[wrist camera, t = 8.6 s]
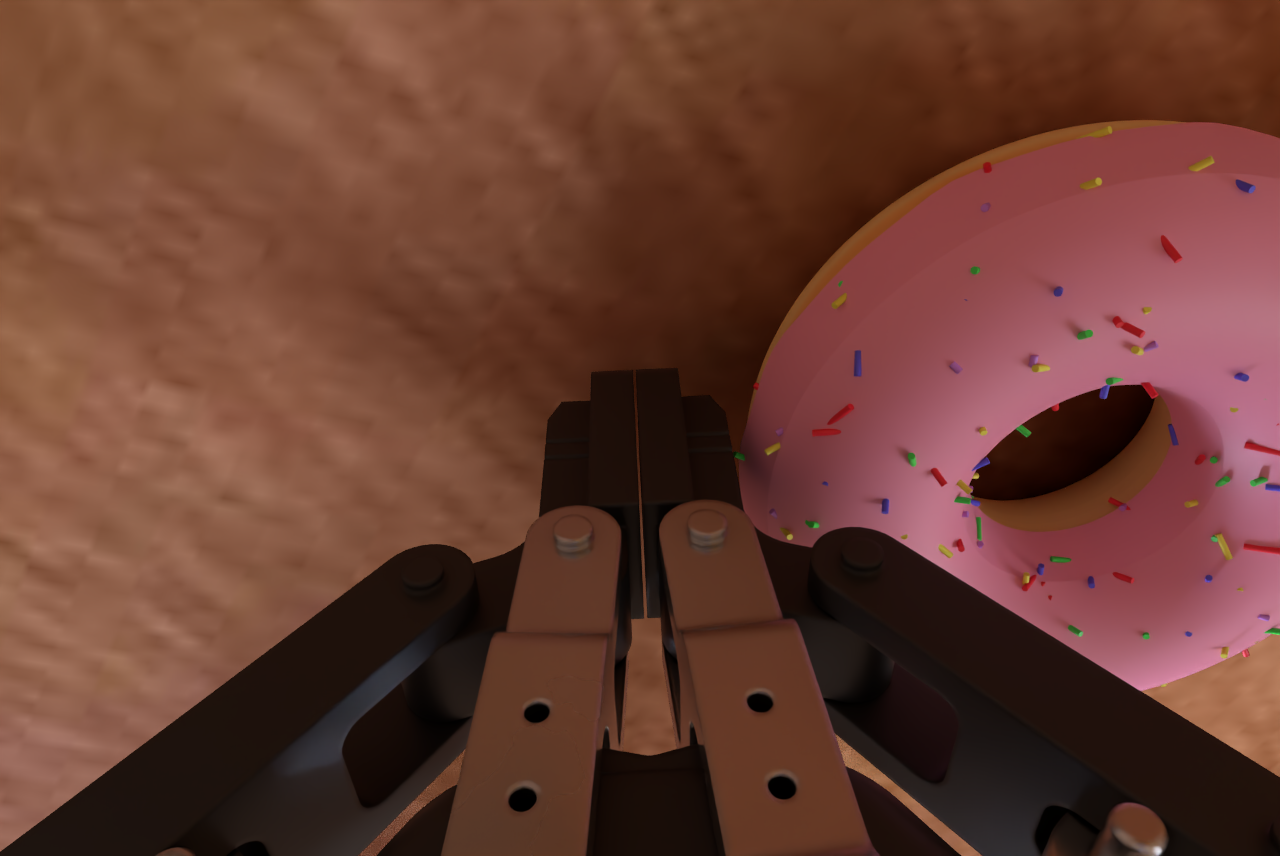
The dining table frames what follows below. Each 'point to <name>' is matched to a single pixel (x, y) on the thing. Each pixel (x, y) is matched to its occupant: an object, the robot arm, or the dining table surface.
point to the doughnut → (1053, 386)
